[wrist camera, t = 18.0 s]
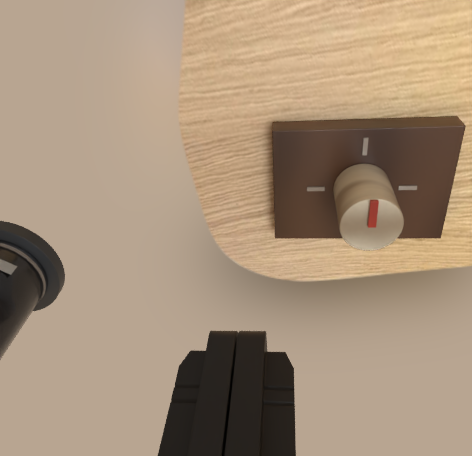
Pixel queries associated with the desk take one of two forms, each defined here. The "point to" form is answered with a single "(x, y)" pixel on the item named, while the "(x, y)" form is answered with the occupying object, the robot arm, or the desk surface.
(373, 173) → the dial
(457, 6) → the desk surface
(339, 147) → the dial panel
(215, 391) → the robot arm
